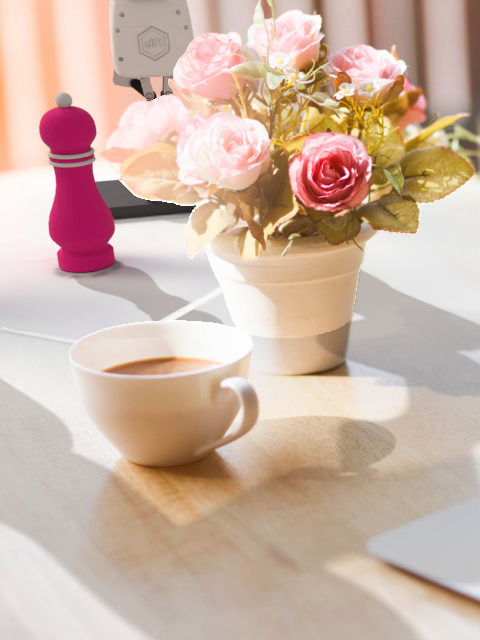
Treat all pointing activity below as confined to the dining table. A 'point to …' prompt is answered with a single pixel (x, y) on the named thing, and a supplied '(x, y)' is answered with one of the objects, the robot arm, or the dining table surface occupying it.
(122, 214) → the scale
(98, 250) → the pepper mill
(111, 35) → the robot arm
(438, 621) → the dining table surface
